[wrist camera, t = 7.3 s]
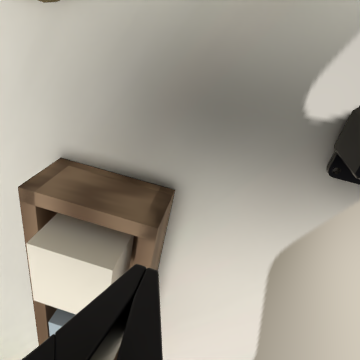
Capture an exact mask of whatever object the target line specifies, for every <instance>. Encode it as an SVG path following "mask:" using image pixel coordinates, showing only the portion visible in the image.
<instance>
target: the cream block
mask: <svg viewBox="0 0 360 360" xmlns="http://www.w3.org/2000/svg"><path fill="white" fill-rule="evenodd" d="M133 239H134V235H130V234H127V233H124V232H120V231H117V230H114V229H110V228H107V227H104V226H100V225H97V224H94V223H90V222H87V221H84V220H81V219H77V218H74V217H71V216H67V215H64V214H61V213H57V214H56V215H55V216H54V217H53V218H52V219H51V220H50V221H49V222H48V223H47V224H46V225H45V226H44V227H43V228H42V229H41V230H39V231H38V232H37V233H36V234H35V235H34V236H33V237H32V238H31V239H30V240H29V241H28V242H27V243H26V246H27V253H28V261H29V268H30V276H31V284H32V291H33V299H34V301H37V302H40V303H43V304H46V305H49V306H52V307H55V308H58V309H61V310H64V311H67V312H70V313H73V314H77V313H78V312H80V311H81V310H82V309H83V308H84V307H85V306H87V305H88V304H89V303H90V302H91V301H92V300H94V299H95V298H96V297H97V296H98V295H100V294H101V293H102V292H103V291H104V290H105V289H107V288H108V287H109V286H110V285H111V284H112V283H114V282H115V281H116V280H117V279H118V278H119V277H121V276H122V275H123V274H124V273H125V272H127V271H128V270H129V267H130V260H131V253H132V246H133Z"/></svg>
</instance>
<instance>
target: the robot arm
mask: <svg viewBox="0 0 360 360" xmlns="http://www.w3.org/2000/svg"><path fill="white" fill-rule="evenodd" d="M334 148H335V150H336V151H335V153H334V155H333V157H332V159H331V161H330V163H329V164H328V166H327V172H328V174H329V175H330V176H331V177H333V178H337V179H341V180H345V181H348V182H352V183H356V184H360V106H359V108H356V109H355V110H353V111H352V113H351V115H350V117H349V119H348V121H347V123H346V125H345V126H344V128H343V130H342V132H341V134H340V136H339V138H338V140H337V142H336V144H335V146H334ZM334 168H339V170H338V171H336V172H333V169H334ZM119 347H120V348H119ZM118 349H119V352H118V356H117V359H116V360H163V356H162V336H161V315H160V295H159V274H158V271H157V270H155V269H152V268H146V267H145V266H142V265H139V264H135V265H134V266H132V267H131V268H130V269H129V270H128V271H127V272H125V273H124V274H123V275H122V276H121V277H119V278H118V279H117V280H116V281H115V282H114V283H112V284H111V285H110V286H109V287H108V288H107V289H105V290H104V291H103V292H102V293H101V294H100V295H98V296H97V297H96V298H95V299H94V300H92V301H91V302H90V303H89V304H88V305H87V306H85V307H84V308H83V309H82V310H81V311H80V312H78V313H77V314H76V315H75V316H74V317H72V318H71V319H70V320H69V321H68V322H67V323H65V324H64V325H63V326H62V327H61V328H60V329H58V330H57V331H56V332H55V334H52V335H51V336H50V337H49V338H48V339H46V340H45V341H44V342H43V343H42V344H41V345H39V346H38V347H37V348H36V349H34V350H33V351H32V352H31V353H29V354H28V355H27V356H26V357H24V358H23V359H22V360H113V359H114V357H115V355H116V353H117V351H118Z"/></svg>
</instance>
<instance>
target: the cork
mask: <svg viewBox="0 0 360 360" xmlns="http://www.w3.org/2000/svg"><path fill="white" fill-rule="evenodd" d="M39 1H42V2H57V1H59V0H39Z"/></svg>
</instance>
